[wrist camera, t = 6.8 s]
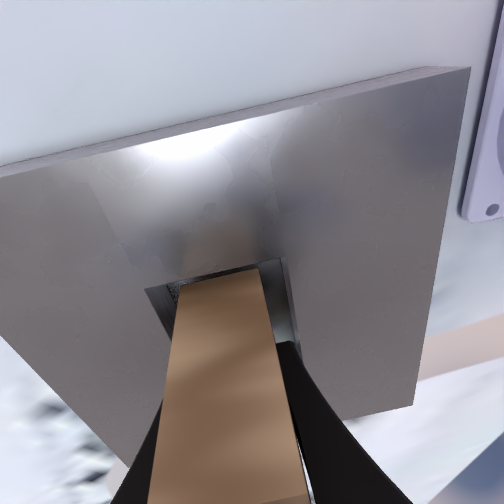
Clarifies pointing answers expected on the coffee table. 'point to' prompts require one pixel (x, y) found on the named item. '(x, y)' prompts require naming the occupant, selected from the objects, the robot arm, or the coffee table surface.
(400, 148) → the collar plate
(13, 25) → the coffee table surface
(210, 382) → the tan cardboard box
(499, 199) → the robot arm
